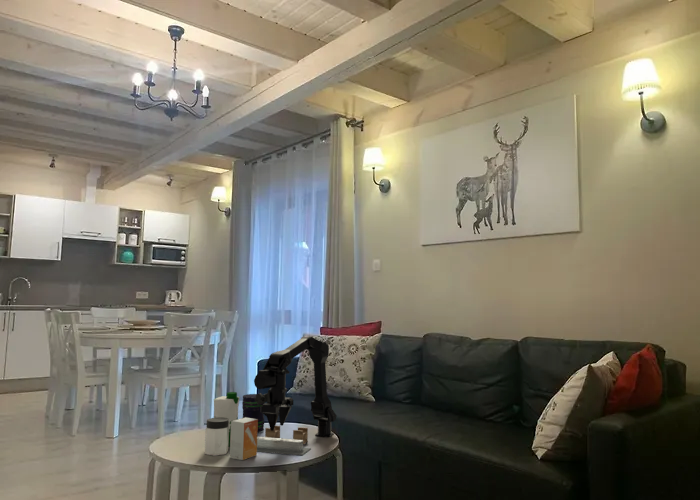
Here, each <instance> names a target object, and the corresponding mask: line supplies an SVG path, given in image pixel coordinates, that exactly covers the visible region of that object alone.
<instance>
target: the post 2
mask: <svg viewBox="0 0 700 500" xmlns="http://www.w3.org/2000/svg"><path fill="white" fill-rule="evenodd" d="M292 431H293V432H292V439H295V440H303V444H304V445H305V444H307V443H308V442H309V441H308V437H309V436H308V435H309V433H308V432H309V429H308V427H301V426H300V427H299V426H298V427H297V429H293V430H292ZM306 442H307V443H306Z"/></svg>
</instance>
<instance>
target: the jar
mask: <svg viewBox="0 0 700 500" xmlns="http://www.w3.org/2000/svg"><path fill="white" fill-rule="evenodd" d="M204 438H205V439H204V441H205V442H204V443H205V444H204V455H208V456H212V457H213V456H214V457H215V456H223V455H226V454H227V453H228V452H229V447H228V441H229V419H228V418H221V417H219V418H214V417H211V418H207V419H206V426H205V437H204Z"/></svg>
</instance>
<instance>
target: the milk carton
mask: <svg viewBox="0 0 700 500" xmlns="http://www.w3.org/2000/svg"><path fill="white" fill-rule="evenodd" d="M239 404H240V396H238V393H237V392H235V391H228V392H226V396H225V395H223V396H218V397H217V398H214V399H213V409H214V410H213V418H219V417H221V418H228V419H229V441H228V448H230V437H231V421H234V420H237V419H239Z"/></svg>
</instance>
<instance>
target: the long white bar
mask: <svg viewBox="0 0 700 500" xmlns="http://www.w3.org/2000/svg"><path fill="white" fill-rule="evenodd" d="M257 448H258V449H270V450H282V451H294V452H301V451H302V450H303V448H304V445H303V440H295V439H293V438H281V437H280V438H269V437H265V436H257Z"/></svg>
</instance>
